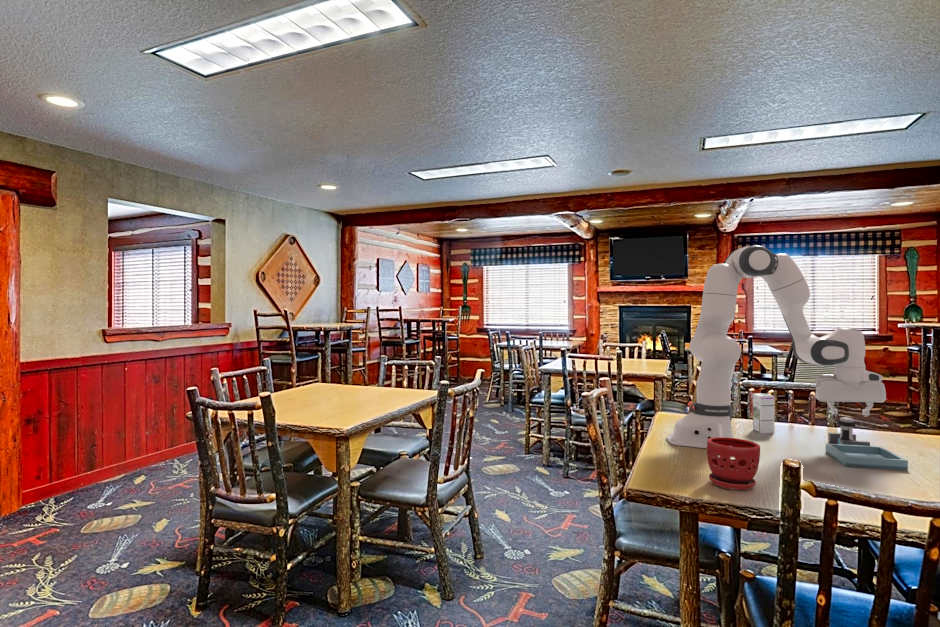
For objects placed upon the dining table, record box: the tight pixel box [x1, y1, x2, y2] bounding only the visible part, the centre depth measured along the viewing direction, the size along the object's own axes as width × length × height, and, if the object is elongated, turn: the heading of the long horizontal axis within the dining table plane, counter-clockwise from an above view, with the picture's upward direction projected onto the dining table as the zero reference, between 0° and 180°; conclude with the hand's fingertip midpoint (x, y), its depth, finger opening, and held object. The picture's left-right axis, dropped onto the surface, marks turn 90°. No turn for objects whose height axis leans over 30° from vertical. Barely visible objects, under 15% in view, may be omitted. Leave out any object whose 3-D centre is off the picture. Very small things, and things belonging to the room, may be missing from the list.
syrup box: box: [752, 392, 775, 434], centre depth 208 cm, size 6×6×14 cm
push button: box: [836, 416, 857, 444], centre depth 185 cm, size 7×5×10 cm
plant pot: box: [706, 437, 761, 491], centre depth 148 cm, size 13×13×12 cm
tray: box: [825, 443, 909, 471], centre depth 169 cm, size 16×16×3 cm
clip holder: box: [827, 432, 871, 446], centre depth 185 cm, size 8×12×4 cm, turn 165°
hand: (850, 414), depth 185 cm, fingers open, 8 cm apart
